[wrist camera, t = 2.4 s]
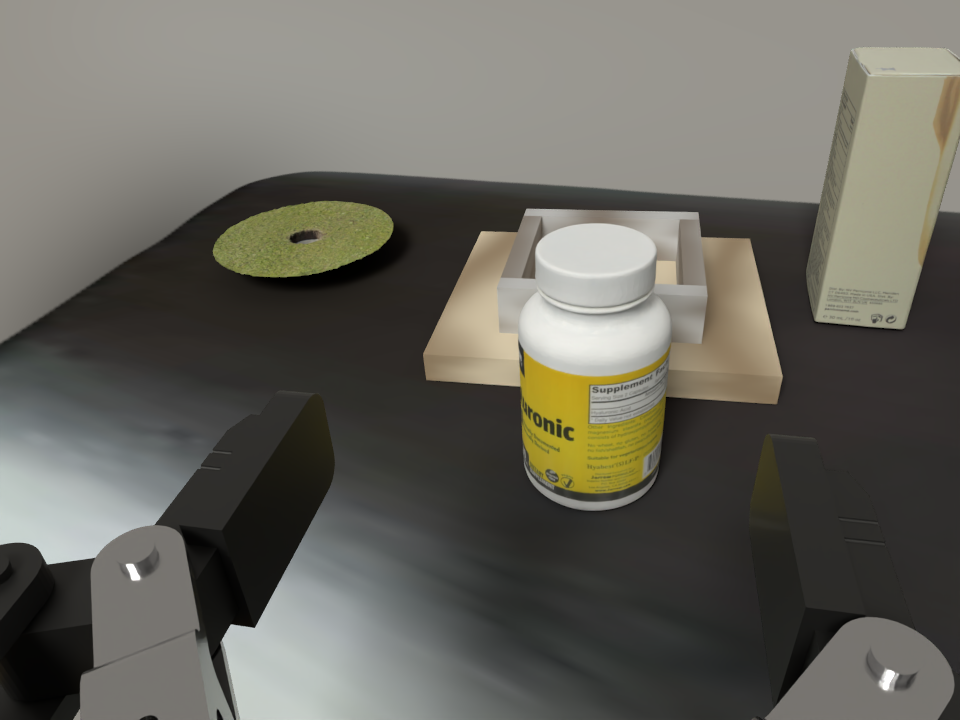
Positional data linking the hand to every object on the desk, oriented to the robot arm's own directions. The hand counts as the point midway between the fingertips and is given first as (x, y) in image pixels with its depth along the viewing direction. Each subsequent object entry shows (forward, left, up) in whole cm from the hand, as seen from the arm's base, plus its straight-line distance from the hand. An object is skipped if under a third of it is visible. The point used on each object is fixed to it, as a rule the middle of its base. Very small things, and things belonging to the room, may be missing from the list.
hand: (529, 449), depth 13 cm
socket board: (0, -24, -11) cm, 27 cm away
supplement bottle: (0, -12, -12) cm, 17 cm away
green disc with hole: (+19, -29, -12) cm, 37 cm away
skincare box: (-13, -27, -12) cm, 33 cm away
